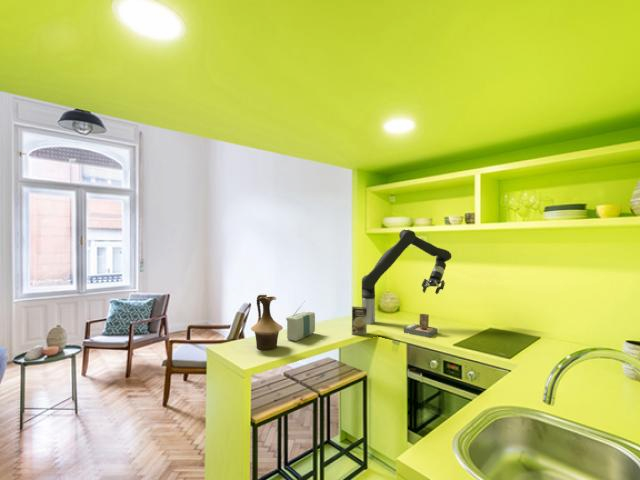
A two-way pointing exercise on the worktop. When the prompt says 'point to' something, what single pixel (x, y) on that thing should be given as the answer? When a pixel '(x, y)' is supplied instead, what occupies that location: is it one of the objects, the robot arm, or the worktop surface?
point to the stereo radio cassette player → (300, 325)
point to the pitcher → (266, 325)
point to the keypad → (412, 330)
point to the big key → (423, 330)
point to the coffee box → (359, 321)
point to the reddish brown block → (424, 321)
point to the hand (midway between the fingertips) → (429, 292)
